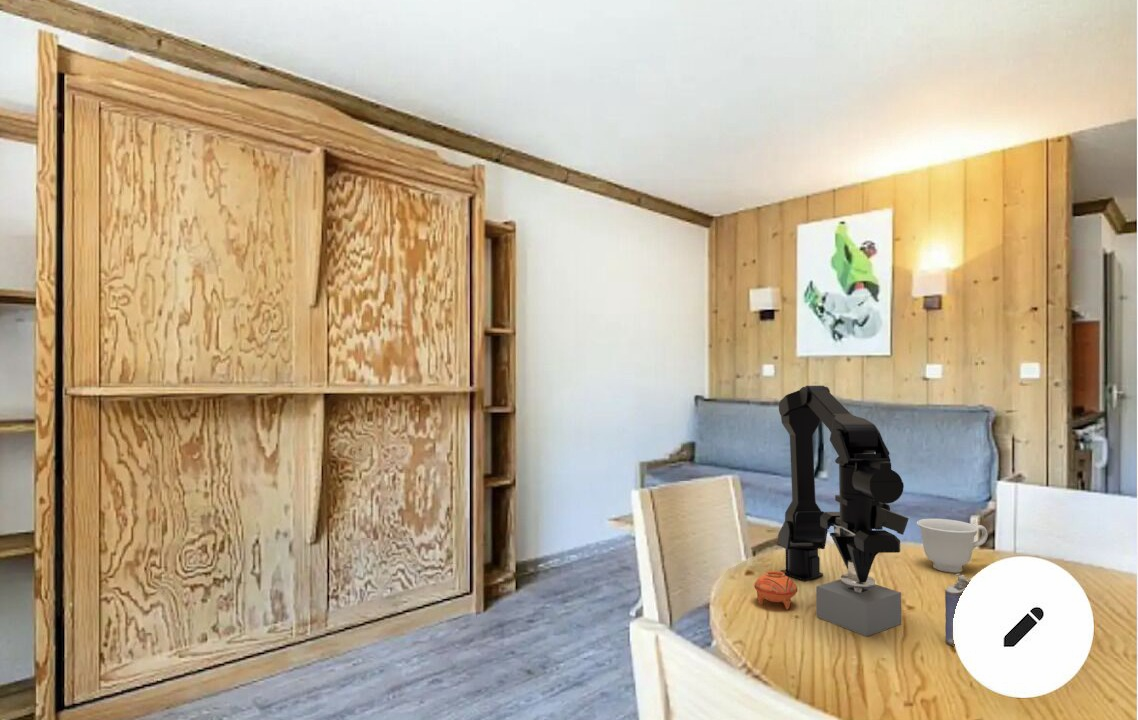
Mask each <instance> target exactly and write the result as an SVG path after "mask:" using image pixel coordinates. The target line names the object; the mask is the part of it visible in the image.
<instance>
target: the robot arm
mask: <svg viewBox="0 0 1138 720" xmlns="http://www.w3.org/2000/svg"><path fill="white" fill-rule="evenodd" d="M778 411H779V415H780V418H781V424H782V426H783V427H784V429H785V430H786V432H787V433H788V434H789V444H790V446H789V447H790V451H789V452H790V471H791V473H790V474H791V475H790V476H791V499H792V500H791V502H790V504H789V505H788V507H787V509H786V510H785V514H784V522H783V524H782V526H781V528H780V530H779V532H778V534H777V538H778V544H779V545H780V546H781V547H783V548H784V549H785V569H781V570H780V572H783V573H785V576H788V577H789V576H790V577H791V578H795V579H798V580H800V581H809V580H812V579H816V578H820V577H823V576H824V573H822V572H821V571H820V568H821V567H820V560H821V558H820V556H819V550H825V549H826V548H825V547H826V543H827V537H828V530H830V529H831V527H833V532H829V536H830V537H831V538H832V540H833V542H834V544H835V547H836V548H837V550H838V553H839V554H840V557H841V559H842V560H843V562H844V565H845V567H846V569H847V571H848V560H851V559H852V562H853V565H854V568H855V571H856V574H857V577H858V579H859V581H860V582H866V580H867V578H868V576H869V575H870V572H871V569H872V566H873V564H874V563H873V562H874V561H875V558H876V556H877V555H879V554H880V553H881V554H882V553H884V554H885V553H886V554H887V553H889V554H891V553H892V554H893V553H894V554H895V553H896V554H897V553H901V540H900V538H898V536H897V535H895V534H894V533H891V532H889V531H887V530H885V529H883V528H886V529H888V530H892V531H894V532H896V533H897V534H899V535H904V534H905V530H906V528H907V526H908V525H907V524H908V522H909V519H910V518H909V517H906V516H905V515H902V514H899V513H897V512H895V511H892V510H891V506H890V505H889V504H893V503H895V502H896V501H898V500H899V499H900V498H901V496H902V495H903V492H904V487H905V485H904V482H903V479H902V477H901V476H900V474H899V473H898V472H897V471H895V470H893V469H892V462H891V458H890V454H891V453H890V451H889V450H888V447H887V445H886V444H885V442H884V440H883V437H882V434H881V432H880V430H879V429H878V427H877V426H876V425H875V424H874V423H873V422H871V421H869V420H868V419H866V418H863V417H860V416H856V415H854V414H852V413H850V411H848V409H847V408H846V407H845V406H844V405H843V404H842V403H841V402H840V401H839V400H838V399H837V398H836V397H835V396H834V395H833V394H832V393H831V391H830V388H829V387H828V386H825V385H805V386H803V387H800V389H799V390H798V389H797V390H796V391H793V392H791V393H788V394H785V395H784V397H783V398H781V399H780V401H779V403H778ZM821 422H822V423H823V424H824V425H825V427H826V428H827V429H828V430H829V432H830V437H829V441H830V443H831V445H832V447H833V449H834V450H835V452H836V454H837V455H838V457H836V459H835V460H834V463H836V464H838V469H839V471H838V474H839V475H838V476H839V477H838V478H839V479H838V480H839V483H838V486H839V488H838V489H839V494H834V495H835V496H834V497H835V502H838V503H839V511H822V510H821V508H820V506H819V505H818V503H817V502H816V482H815V481H816V480H815V456H814V434H815V432H816V431H817V429H818V427H819V426H820V424H821Z"/></svg>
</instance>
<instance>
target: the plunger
mask: <svg viewBox="0 0 1138 720" xmlns="http://www.w3.org/2000/svg"><path fill="white" fill-rule="evenodd" d="M840 579H841V582H842V583H843V584H845V585H847V586H850V587H854V591H856V592H859V593H861V592H862V588H873V587H874V586H875V584H876V579H875V578H874V577H871V576H869V575H868V578H867V580H866V582H860V581H859V579H858V577H857V574H856V571H855V568H854V565H853V562H852V559H851V560H848V570H847V573H845V574H841V576H840Z"/></svg>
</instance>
